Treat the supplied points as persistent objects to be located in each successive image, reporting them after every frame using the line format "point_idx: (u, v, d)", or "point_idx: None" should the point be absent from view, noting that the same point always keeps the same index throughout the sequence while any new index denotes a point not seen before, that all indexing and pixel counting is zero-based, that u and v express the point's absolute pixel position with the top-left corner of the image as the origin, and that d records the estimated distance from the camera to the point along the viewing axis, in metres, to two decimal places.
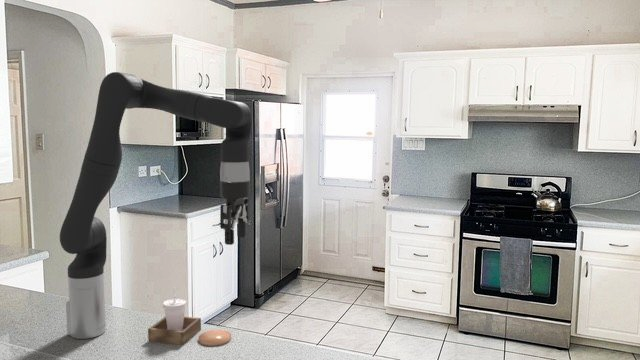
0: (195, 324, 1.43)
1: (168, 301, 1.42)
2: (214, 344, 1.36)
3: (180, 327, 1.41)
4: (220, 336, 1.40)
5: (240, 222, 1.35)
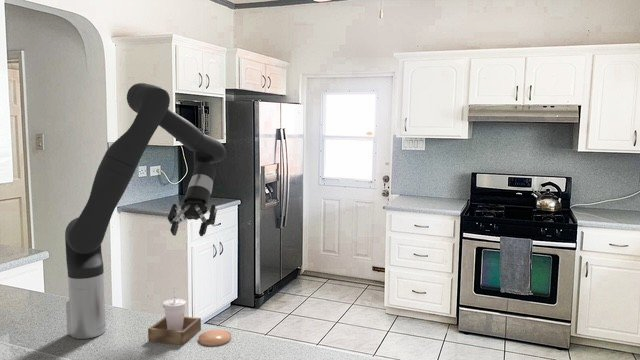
0: (195, 324, 1.43)
1: (168, 301, 1.42)
2: (214, 344, 1.36)
3: (180, 327, 1.41)
4: (220, 336, 1.40)
5: (177, 222, 1.54)
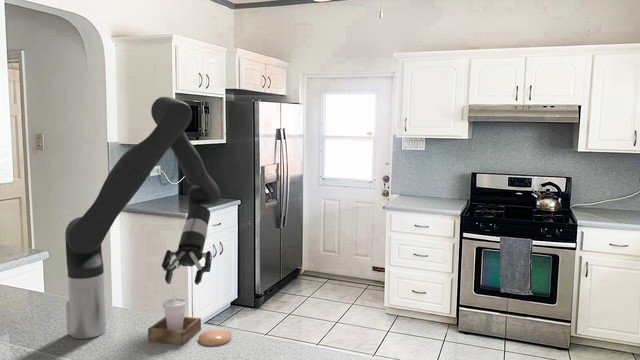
0: (195, 324, 1.43)
1: (168, 301, 1.42)
2: (214, 344, 1.36)
3: (180, 327, 1.41)
4: (220, 336, 1.40)
5: (171, 270, 1.50)
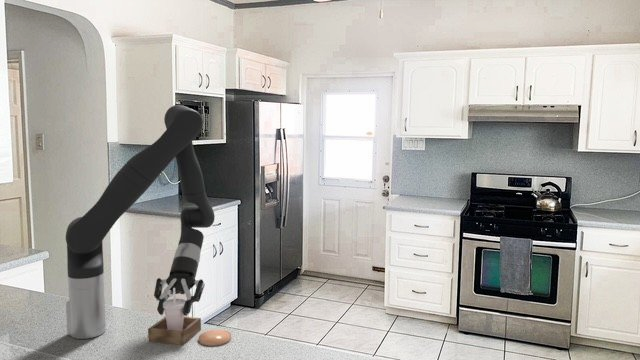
0: (195, 324, 1.43)
1: (168, 301, 1.42)
2: (214, 344, 1.36)
3: (180, 327, 1.41)
4: (220, 336, 1.40)
5: (164, 300, 1.43)
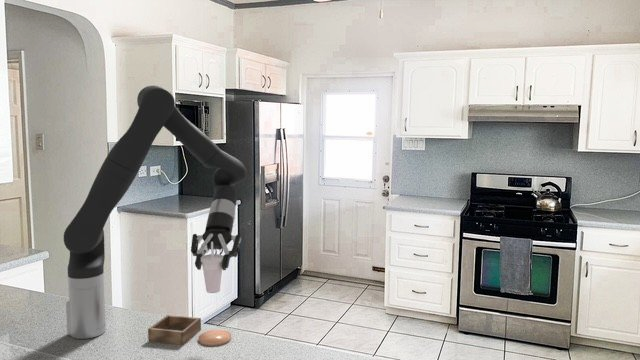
0: (195, 324, 1.43)
1: (205, 256, 1.39)
2: (214, 344, 1.36)
3: (218, 282, 1.38)
4: (220, 336, 1.40)
5: (201, 255, 1.39)
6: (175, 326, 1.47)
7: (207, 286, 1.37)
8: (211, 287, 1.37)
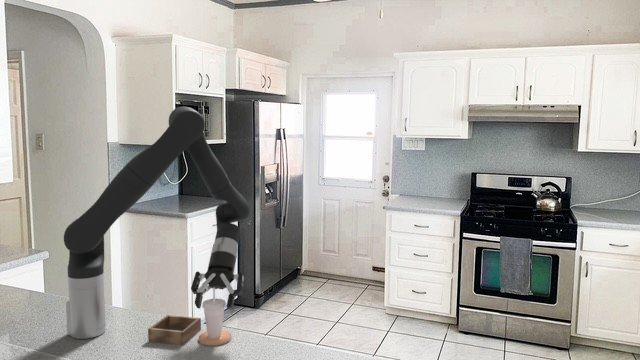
0: (195, 324, 1.43)
1: (207, 301, 1.40)
2: (214, 344, 1.36)
3: (220, 327, 1.39)
4: None
5: (201, 293, 1.40)
6: (175, 326, 1.47)
7: (208, 331, 1.38)
8: (213, 333, 1.38)
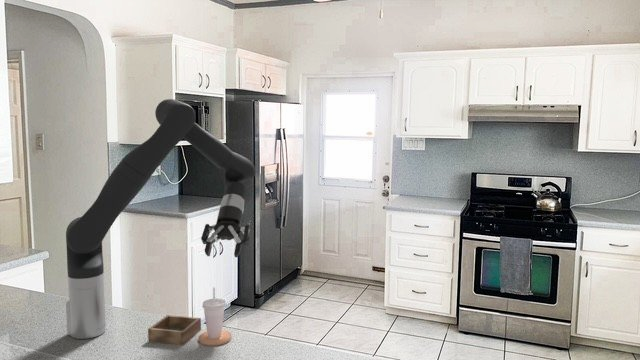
0: (195, 324, 1.43)
1: (207, 301, 1.40)
2: (214, 344, 1.36)
3: (220, 327, 1.39)
4: None
5: (210, 243, 1.52)
6: (175, 326, 1.47)
7: (208, 331, 1.38)
8: (213, 333, 1.38)
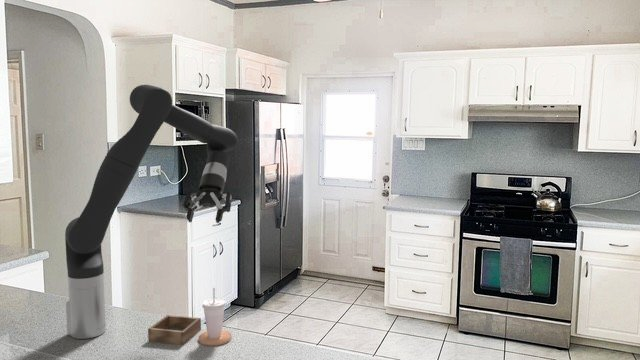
0: (195, 324, 1.43)
1: (207, 301, 1.40)
2: (214, 344, 1.36)
3: (220, 327, 1.39)
4: None
5: (192, 209, 1.54)
6: (175, 326, 1.47)
7: (208, 331, 1.38)
8: (213, 333, 1.38)
